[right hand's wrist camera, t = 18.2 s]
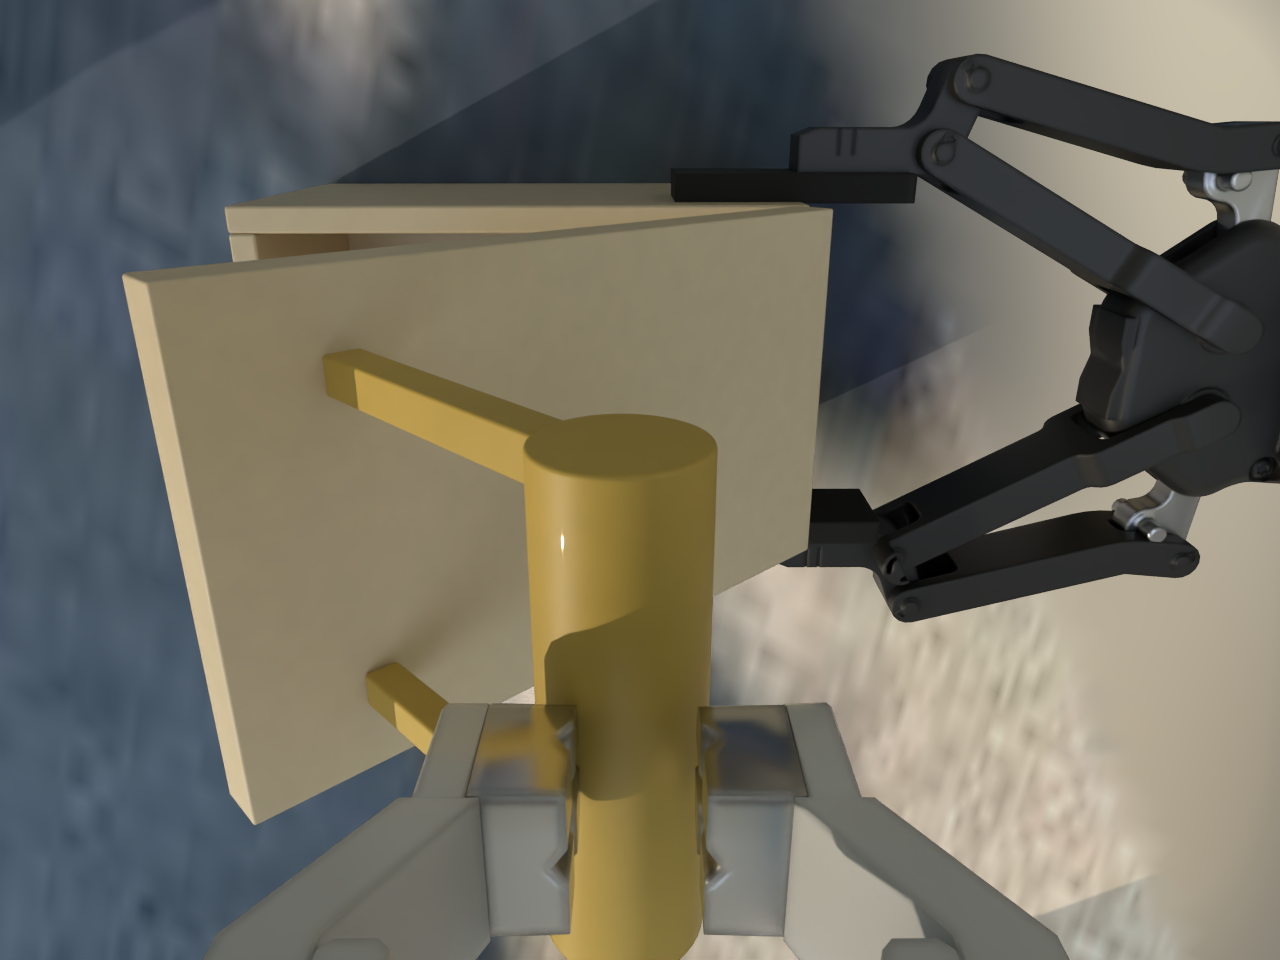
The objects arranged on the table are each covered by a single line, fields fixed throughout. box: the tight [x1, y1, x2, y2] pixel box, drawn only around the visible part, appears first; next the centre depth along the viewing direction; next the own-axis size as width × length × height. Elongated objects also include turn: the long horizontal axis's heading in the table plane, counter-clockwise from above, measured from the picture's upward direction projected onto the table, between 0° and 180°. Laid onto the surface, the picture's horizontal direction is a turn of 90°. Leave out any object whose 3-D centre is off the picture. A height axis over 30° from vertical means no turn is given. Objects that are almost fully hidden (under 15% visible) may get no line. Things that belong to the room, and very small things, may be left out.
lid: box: [122, 206, 833, 960], centre depth 17 cm, size 16×10×9 cm
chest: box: [225, 183, 809, 262], centre depth 30 cm, size 15×10×9 cm, turn 90°
